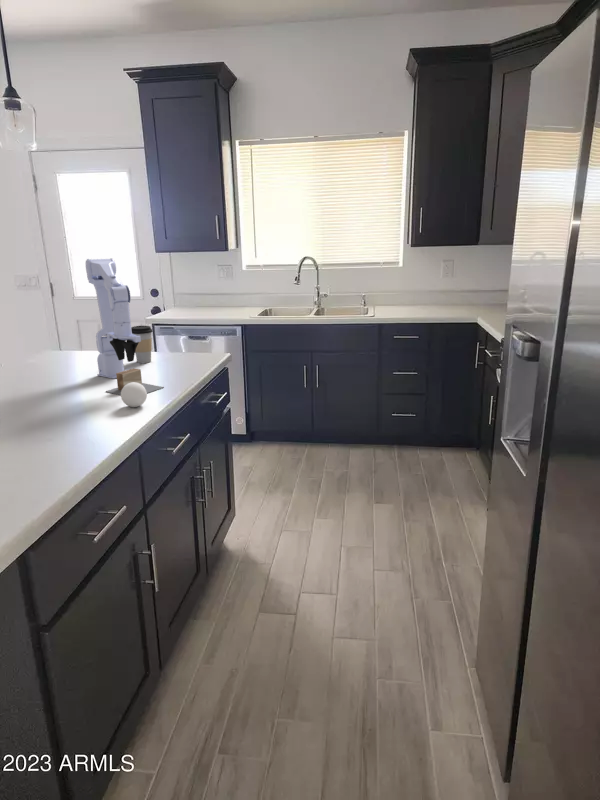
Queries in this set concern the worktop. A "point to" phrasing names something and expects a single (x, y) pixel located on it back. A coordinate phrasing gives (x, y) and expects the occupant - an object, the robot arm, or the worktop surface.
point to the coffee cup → (143, 343)
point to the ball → (133, 394)
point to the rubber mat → (148, 387)
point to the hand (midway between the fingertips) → (126, 360)
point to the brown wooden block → (128, 377)
